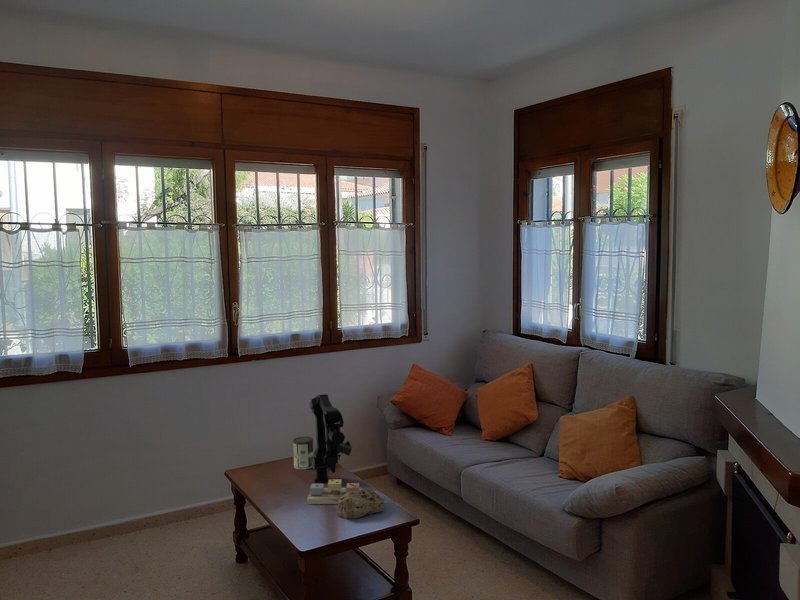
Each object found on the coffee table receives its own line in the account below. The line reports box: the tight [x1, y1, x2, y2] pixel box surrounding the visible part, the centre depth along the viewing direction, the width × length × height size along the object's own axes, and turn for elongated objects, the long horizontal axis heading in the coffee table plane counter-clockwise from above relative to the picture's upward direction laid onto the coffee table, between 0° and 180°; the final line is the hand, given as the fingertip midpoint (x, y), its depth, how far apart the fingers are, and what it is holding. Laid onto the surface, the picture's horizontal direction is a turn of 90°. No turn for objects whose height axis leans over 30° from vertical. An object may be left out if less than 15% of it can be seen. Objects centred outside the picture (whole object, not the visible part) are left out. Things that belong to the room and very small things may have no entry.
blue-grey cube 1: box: [309, 483, 325, 495], centre depth 290 cm, size 6×6×6 cm
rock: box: [336, 488, 386, 520], centre depth 275 cm, size 21×14×10 cm
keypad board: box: [306, 487, 363, 505], centre depth 290 cm, size 12×23×2 cm, turn 89°
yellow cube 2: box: [327, 478, 343, 495], centre depth 290 cm, size 6×6×6 cm
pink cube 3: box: [345, 482, 360, 493], centre depth 290 cm, size 6×6×6 cm
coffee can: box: [292, 436, 314, 470], centre depth 333 cm, size 10×10×14 cm
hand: (333, 472), depth 289 cm, fingers closed
